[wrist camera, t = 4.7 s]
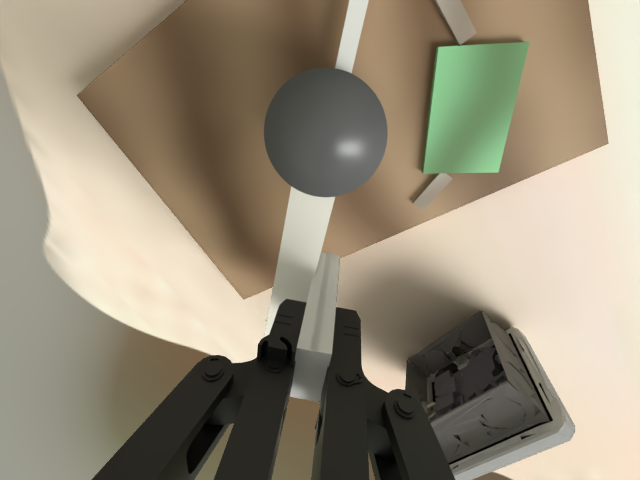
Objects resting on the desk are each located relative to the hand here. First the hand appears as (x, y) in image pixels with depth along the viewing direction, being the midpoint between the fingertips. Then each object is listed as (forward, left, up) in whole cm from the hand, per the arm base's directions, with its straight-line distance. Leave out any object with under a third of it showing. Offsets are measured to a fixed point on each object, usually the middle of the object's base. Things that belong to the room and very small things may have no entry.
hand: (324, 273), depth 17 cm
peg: (-3, -6, -3) cm, 7 cm away
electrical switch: (-4, +13, -5) cm, 15 cm away
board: (-4, -7, -5) cm, 9 cm away
